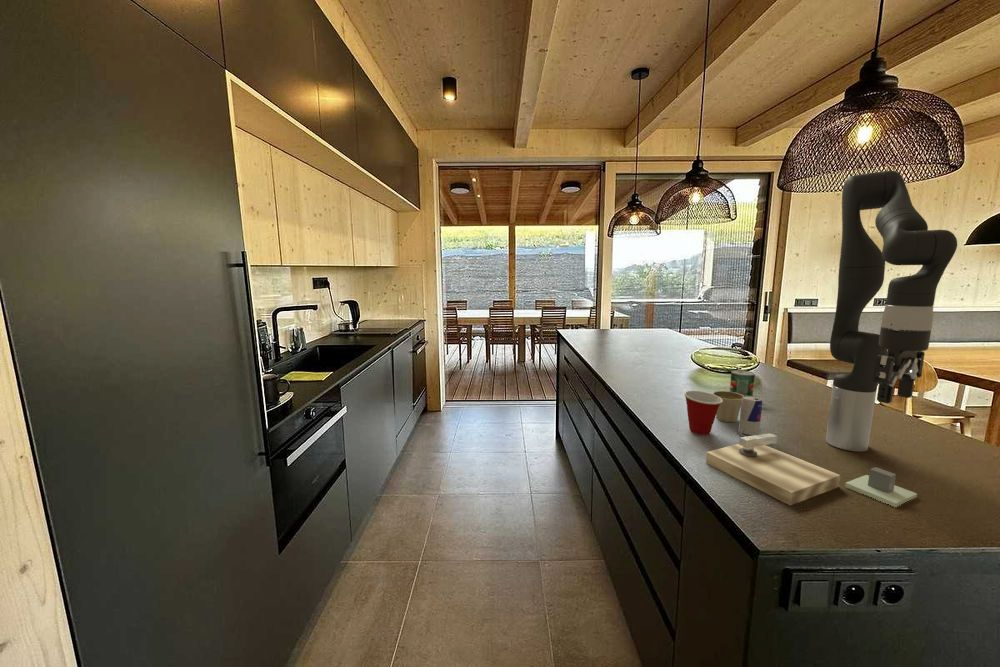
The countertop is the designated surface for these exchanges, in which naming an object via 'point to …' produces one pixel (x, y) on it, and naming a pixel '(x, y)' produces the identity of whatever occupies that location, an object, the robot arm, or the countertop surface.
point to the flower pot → (728, 406)
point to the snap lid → (881, 487)
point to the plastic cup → (701, 411)
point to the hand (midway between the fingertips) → (894, 399)
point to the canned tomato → (742, 382)
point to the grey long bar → (757, 441)
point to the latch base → (774, 472)
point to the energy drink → (750, 416)
